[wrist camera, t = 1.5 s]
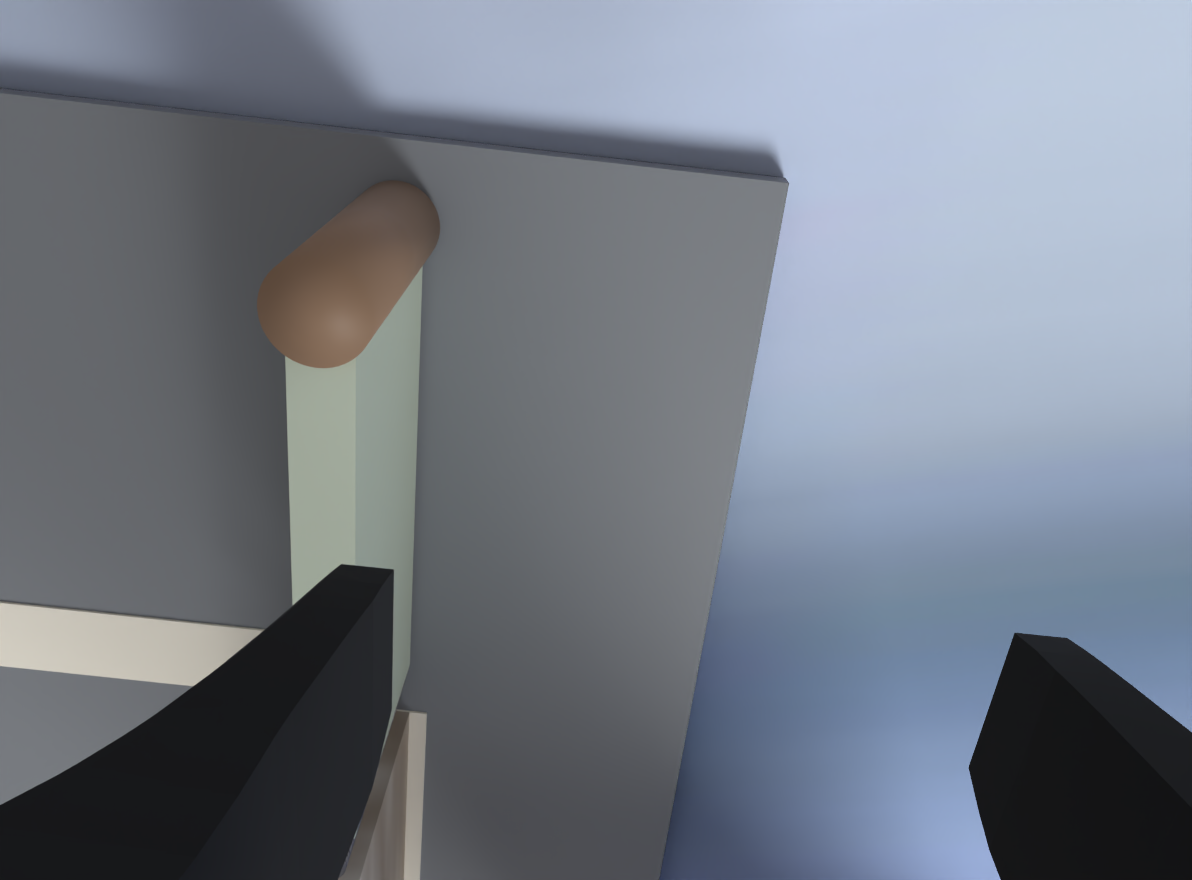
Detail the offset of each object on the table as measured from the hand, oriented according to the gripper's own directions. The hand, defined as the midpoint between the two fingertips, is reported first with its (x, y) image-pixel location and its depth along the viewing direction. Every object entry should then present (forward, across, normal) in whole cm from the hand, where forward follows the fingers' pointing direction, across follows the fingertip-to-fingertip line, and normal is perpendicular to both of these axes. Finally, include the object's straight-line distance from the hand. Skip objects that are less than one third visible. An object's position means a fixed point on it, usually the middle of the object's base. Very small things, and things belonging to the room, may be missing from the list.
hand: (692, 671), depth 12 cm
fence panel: (+9, +5, +2) cm, 11 cm away
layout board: (+9, +8, +7) cm, 14 cm away
